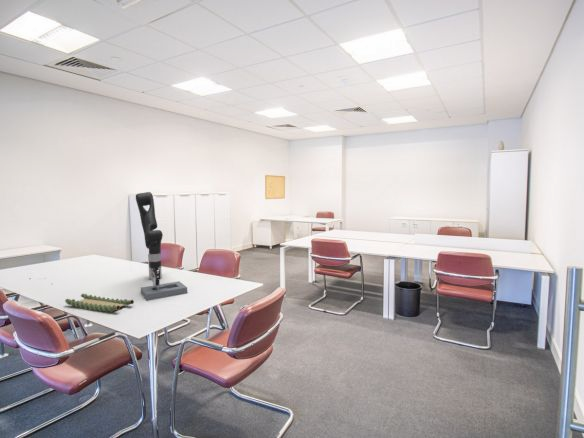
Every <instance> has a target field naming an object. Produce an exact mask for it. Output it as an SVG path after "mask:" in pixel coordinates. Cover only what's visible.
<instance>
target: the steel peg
mask: <svg viewBox="0 0 584 438" xmlns="http://www.w3.org/2000/svg"><path fill="white" fill-rule="evenodd" d="M157 278H158V277H157ZM152 286H153V290H158V289H159V285H157V286H156V280H155V277H153V280H152Z"/></svg>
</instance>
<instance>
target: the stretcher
mask: <svg viewBox="0 0 584 438" xmlns="http://www.w3.org/2000/svg"><path fill="white" fill-rule="evenodd" d="M80 298H83V299H80V300H75V299H74V298H73V299H70V298H65V300H64V302H65V303H66V304H67V305H68V306H72V307H75V308H78V309H79V308H80V309H82V310H90V311H96V312H98V311H99V312H111V313H113V312H114V311H119V310H120V309H121V307H124V306H130V305H134V303H135V301H134V300H133V299H127V298H125V299H122V298H121V299H119V298H116V299H115V298H111V299H110V298H109V297H107V298H105V297H101V296H97V295H94V296H93V295H92V294H89V295H88V294H87V293H81V294H80Z"/></svg>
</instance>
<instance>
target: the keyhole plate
mask: <svg viewBox="0 0 584 438" xmlns="http://www.w3.org/2000/svg"><path fill="white" fill-rule="evenodd" d="M187 293H188V287H187V286H186V285H185V284H183V283H182V282H181V281H180V280H179V281H172V282H166V283H159V289H158V290H153V285H148V286H147V285H146V286H141V287H140V294H141V295H142V297H143V298H144V299H145V301H152V300H158V299H162V298H168V297H174V296H179V295H184V294H187Z"/></svg>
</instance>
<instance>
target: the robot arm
mask: <svg viewBox="0 0 584 438" xmlns="http://www.w3.org/2000/svg"><path fill="white" fill-rule="evenodd" d="M135 201H136V204H137V208H138V211H139V212H138V213H139V216H140V217H139V218H140V221H141V222H140V223H141V227H142V230H143V235H144V243H145V247H146V249H148V256H147V257H148V258H147V261H148V263H147V264H148V278H149V280H151V281H153V277H155V280H156V286H157V285H159V284H160V280H161V279H162V278H163V277H162V275H163V274H162V256H161V255H162V254H161V253H162V251H161V250H162V247H161V246H162V239H163V236H164V235H163V232H162V230H159V229H157V228H158V222H157V218H156V211H155V208H156V207H155V201H154V196H153V193H152V192H151V191H146V192H139V193H136V194H135ZM146 206H149V207H148V210H146V208H145V207H146ZM157 277H158V278H157Z"/></svg>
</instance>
